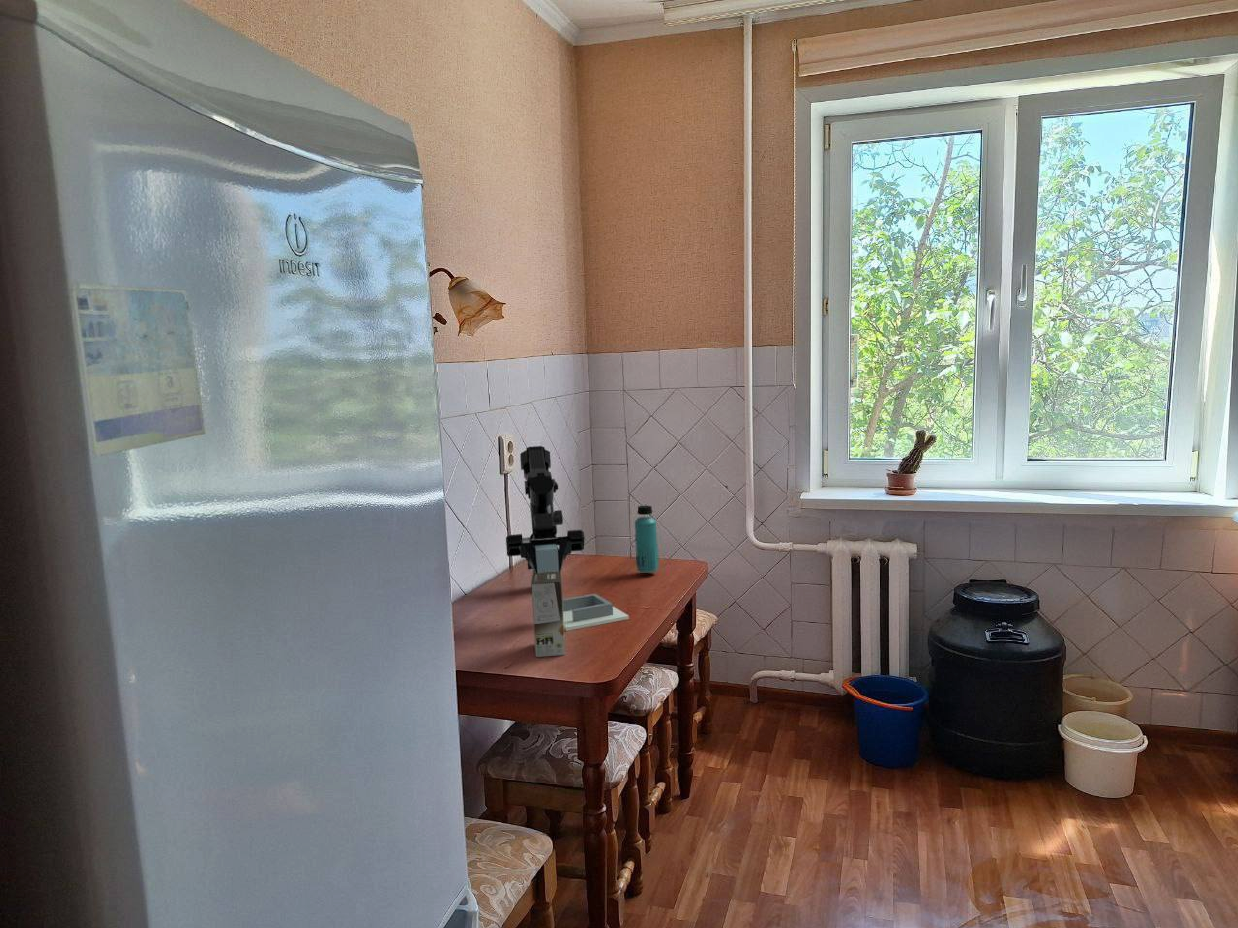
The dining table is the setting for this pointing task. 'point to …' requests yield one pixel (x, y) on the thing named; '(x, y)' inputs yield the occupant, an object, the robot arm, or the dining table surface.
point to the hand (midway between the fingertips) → (548, 573)
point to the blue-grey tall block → (547, 558)
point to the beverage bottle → (646, 541)
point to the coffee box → (548, 614)
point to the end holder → (589, 612)
